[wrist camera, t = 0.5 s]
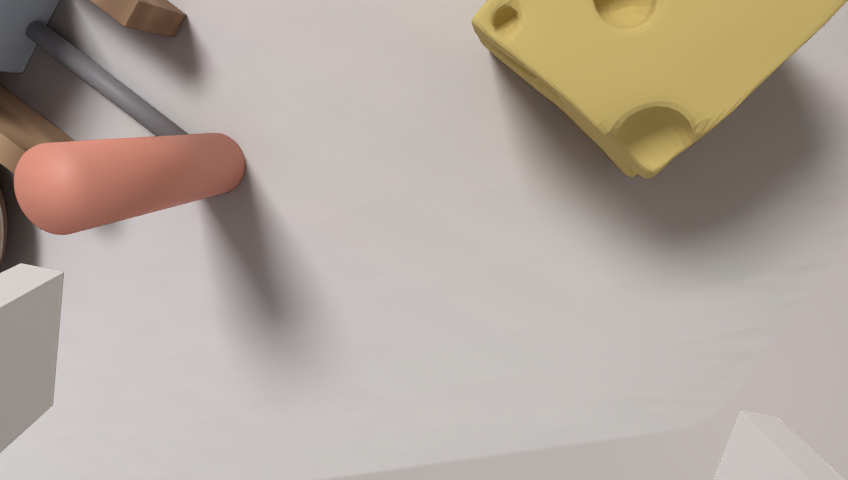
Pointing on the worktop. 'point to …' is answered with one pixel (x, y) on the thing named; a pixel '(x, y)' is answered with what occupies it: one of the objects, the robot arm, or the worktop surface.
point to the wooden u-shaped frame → (24, 127)
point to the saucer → (2, 227)
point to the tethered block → (107, 145)
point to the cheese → (647, 63)
